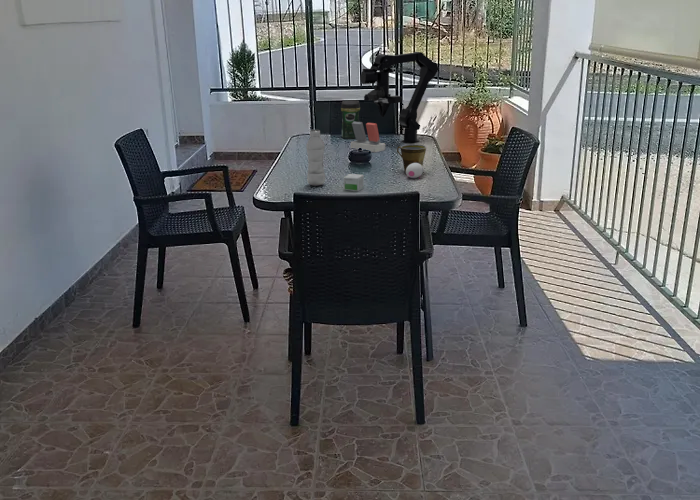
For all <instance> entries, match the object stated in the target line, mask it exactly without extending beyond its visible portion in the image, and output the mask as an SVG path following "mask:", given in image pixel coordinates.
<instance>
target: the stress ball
mask: <svg viewBox="0 0 700 500" xmlns="http://www.w3.org/2000/svg"><path fill="white" fill-rule="evenodd" d="M423 173H424V167H423V166H422V165H421V164H419V163H412V164H410V165H409V166H408V167H407V168H406V173H405V174H406V177H408V178H411V179H416V178H418V179H419V180H421V177H420V176H421V175H422V174H423Z"/></svg>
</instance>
